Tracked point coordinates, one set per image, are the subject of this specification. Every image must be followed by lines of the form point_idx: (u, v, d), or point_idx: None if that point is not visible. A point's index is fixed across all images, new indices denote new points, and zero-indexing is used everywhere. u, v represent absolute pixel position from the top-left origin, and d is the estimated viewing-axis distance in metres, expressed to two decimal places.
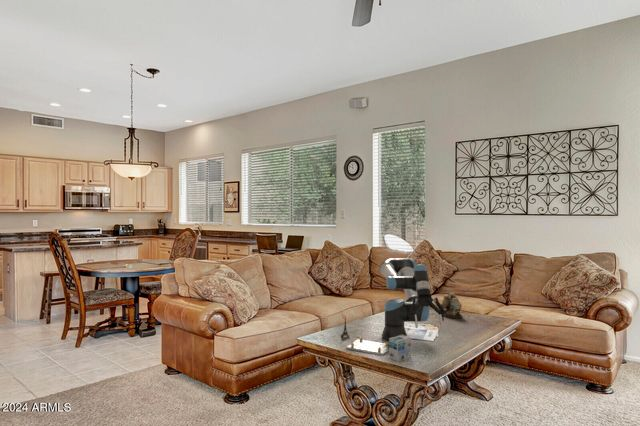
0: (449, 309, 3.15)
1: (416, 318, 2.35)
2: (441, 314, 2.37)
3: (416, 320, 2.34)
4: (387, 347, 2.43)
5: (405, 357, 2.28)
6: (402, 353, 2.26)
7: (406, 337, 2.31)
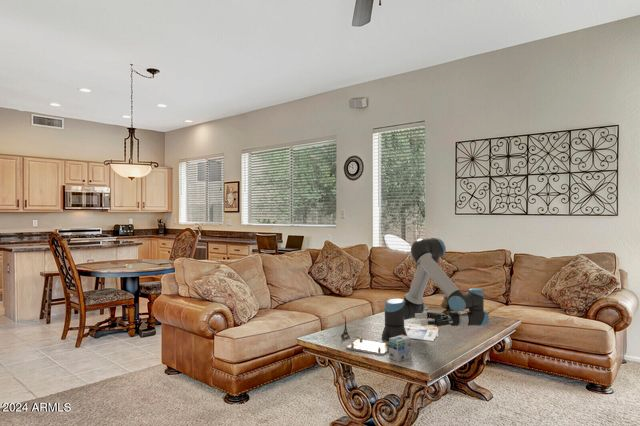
0: (449, 309, 3.15)
1: (429, 324, 2.23)
2: None
3: None
4: (387, 347, 2.43)
5: (405, 357, 2.28)
6: (402, 353, 2.26)
7: (406, 337, 2.31)
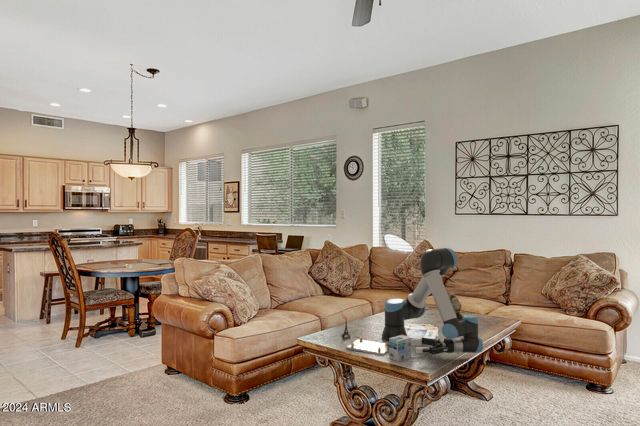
0: None
1: (424, 352, 2.23)
2: None
3: (421, 352, 2.23)
4: (387, 347, 2.43)
5: (405, 357, 2.28)
6: (402, 353, 2.26)
7: (406, 337, 2.31)
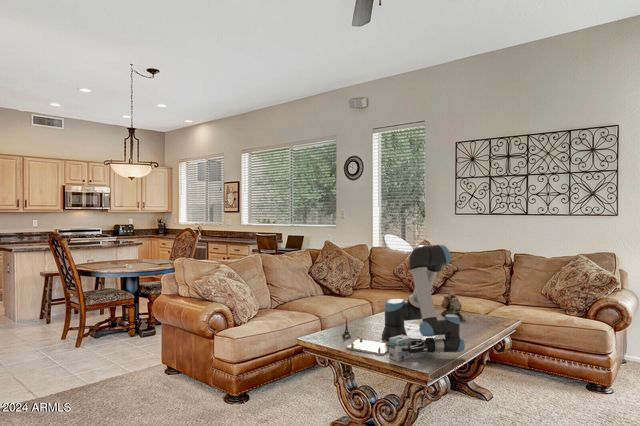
0: (449, 309, 3.15)
1: (403, 351, 2.24)
2: None
3: (401, 351, 2.24)
4: (387, 347, 2.43)
5: (405, 357, 2.28)
6: (402, 352, 2.26)
7: (406, 337, 2.31)
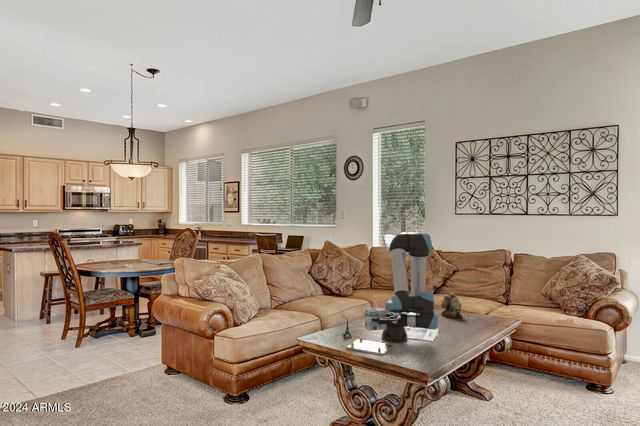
0: (449, 309, 3.15)
1: (373, 321, 2.35)
2: None
3: (371, 321, 2.35)
4: (387, 347, 2.43)
5: (378, 328, 2.37)
6: (374, 323, 2.37)
7: (381, 309, 2.40)
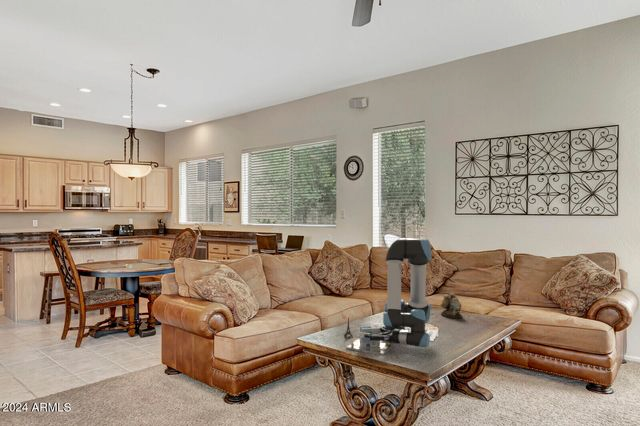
0: (449, 309, 3.15)
1: (366, 337, 2.39)
2: (380, 331, 2.51)
3: (364, 337, 2.40)
4: (387, 347, 2.43)
5: (371, 345, 2.43)
6: (367, 340, 2.42)
7: (375, 327, 2.45)
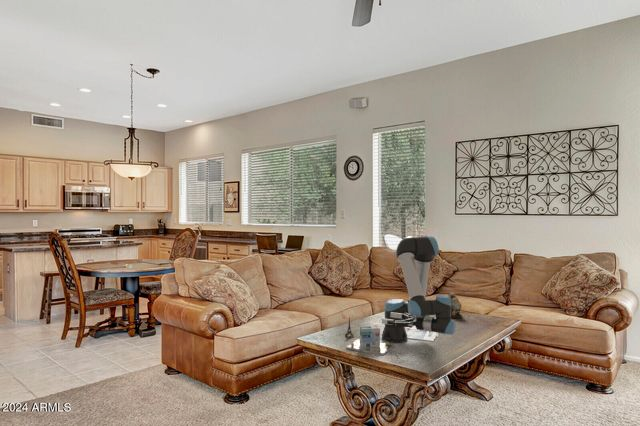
0: None
1: None
2: (402, 317, 2.43)
3: (387, 324, 2.33)
4: (387, 347, 2.43)
5: (371, 345, 2.43)
6: (367, 340, 2.42)
7: (375, 327, 2.45)
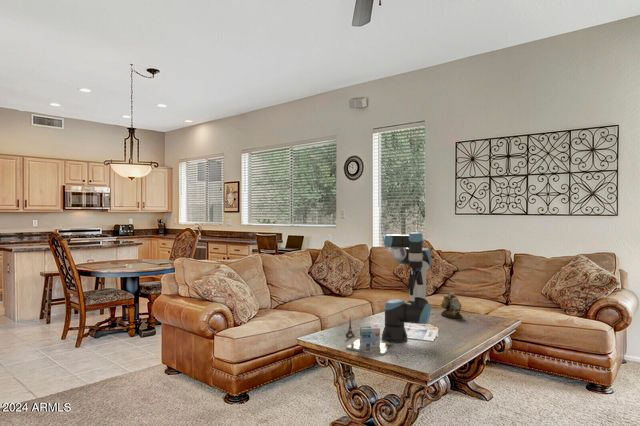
0: (449, 309, 3.15)
1: (414, 293, 2.35)
2: (420, 284, 2.48)
3: (414, 295, 2.35)
4: (387, 347, 2.43)
5: (371, 345, 2.43)
6: (367, 340, 2.42)
7: (375, 327, 2.45)
